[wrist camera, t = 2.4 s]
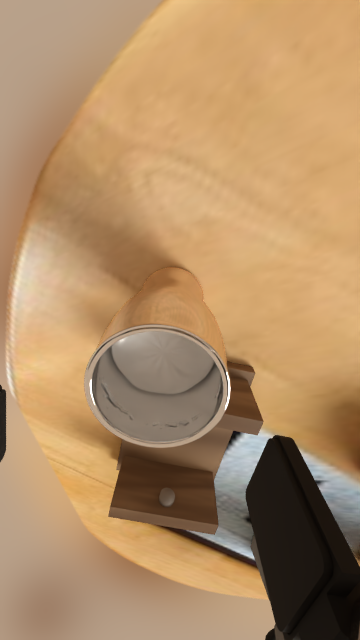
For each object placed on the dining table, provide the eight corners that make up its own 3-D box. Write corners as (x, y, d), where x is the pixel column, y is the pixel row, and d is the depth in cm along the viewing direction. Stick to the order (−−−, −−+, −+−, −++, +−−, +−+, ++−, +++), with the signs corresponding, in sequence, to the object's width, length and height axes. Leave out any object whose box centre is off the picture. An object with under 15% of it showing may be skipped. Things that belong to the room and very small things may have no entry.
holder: (142, 343, 28) (128, 383, 21) (252, 367, 28) (273, 413, 22) (118, 461, 34) (102, 522, 27) (210, 478, 34) (216, 541, 28)
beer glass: (129, 319, 27) (67, 431, 13) (146, 252, 24) (94, 298, 10) (194, 339, 27) (205, 466, 13) (218, 274, 25) (261, 347, 11)
